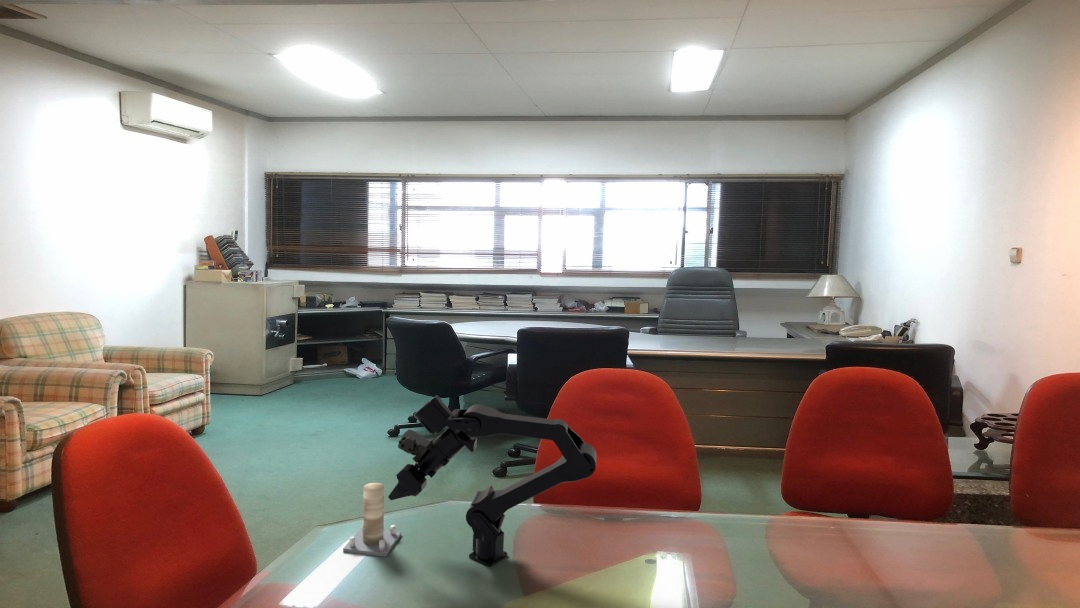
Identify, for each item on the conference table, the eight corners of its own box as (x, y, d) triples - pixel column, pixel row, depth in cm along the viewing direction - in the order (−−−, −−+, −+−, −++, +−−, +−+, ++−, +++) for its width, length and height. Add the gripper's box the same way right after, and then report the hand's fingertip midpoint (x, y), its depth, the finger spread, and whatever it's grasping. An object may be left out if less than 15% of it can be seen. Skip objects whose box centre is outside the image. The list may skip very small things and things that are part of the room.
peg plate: (401, 535, 151) (401, 524, 150) (385, 556, 141) (385, 545, 141) (361, 530, 152) (361, 519, 152) (343, 551, 142) (343, 540, 142)
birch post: (386, 541, 146) (387, 488, 144) (366, 547, 143) (367, 492, 141) (379, 533, 150) (380, 481, 148) (360, 537, 147) (360, 485, 145)
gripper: (433, 409, 150) (388, 449, 153) (406, 434, 132) (356, 479, 135) (464, 444, 150) (419, 483, 153) (441, 473, 132) (390, 518, 135)
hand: (397, 490), depth 144 cm, fingers open, 9 cm apart
